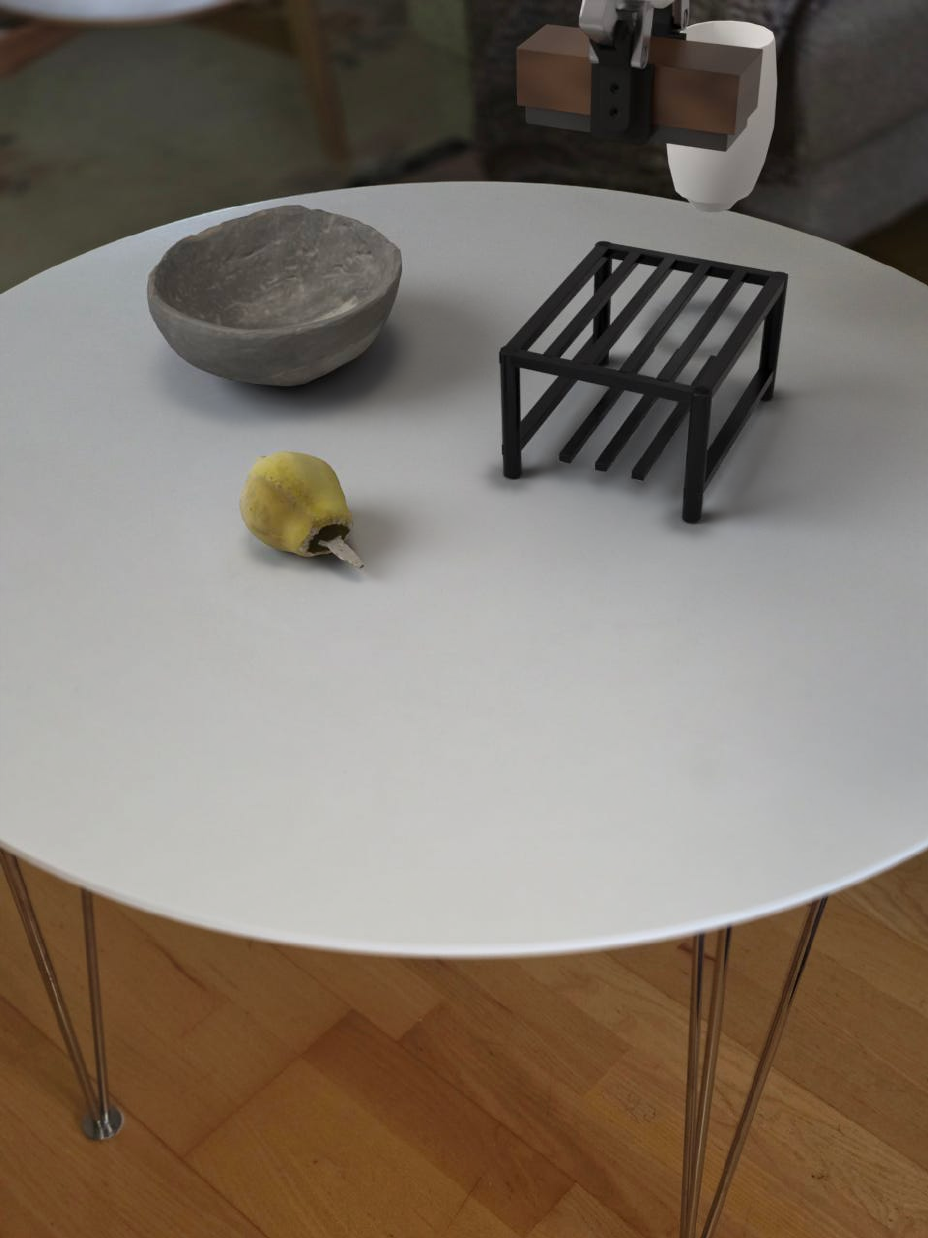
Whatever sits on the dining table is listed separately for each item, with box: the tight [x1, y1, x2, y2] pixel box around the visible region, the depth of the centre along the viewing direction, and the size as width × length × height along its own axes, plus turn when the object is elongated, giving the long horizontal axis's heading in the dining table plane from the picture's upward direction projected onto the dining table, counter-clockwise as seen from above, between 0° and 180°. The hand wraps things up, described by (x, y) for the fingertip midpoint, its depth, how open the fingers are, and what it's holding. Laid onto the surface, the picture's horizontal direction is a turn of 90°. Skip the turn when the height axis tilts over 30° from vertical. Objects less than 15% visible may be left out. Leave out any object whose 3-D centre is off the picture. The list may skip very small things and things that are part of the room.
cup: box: [666, 20, 778, 213], centre depth 94 cm, size 7×7×21 cm
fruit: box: [239, 450, 365, 569], centre depth 81 cm, size 6×6×10 cm
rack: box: [498, 240, 789, 524], centre depth 87 cm, size 13×16×9 cm
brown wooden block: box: [515, 23, 763, 152], centre depth 72 cm, size 12×4×4 cm, turn 64°
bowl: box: [146, 204, 403, 387], centre depth 97 cm, size 18×18×8 cm
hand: (636, 119), depth 73 cm, fingers closed on brown wooden block, 4 cm apart
